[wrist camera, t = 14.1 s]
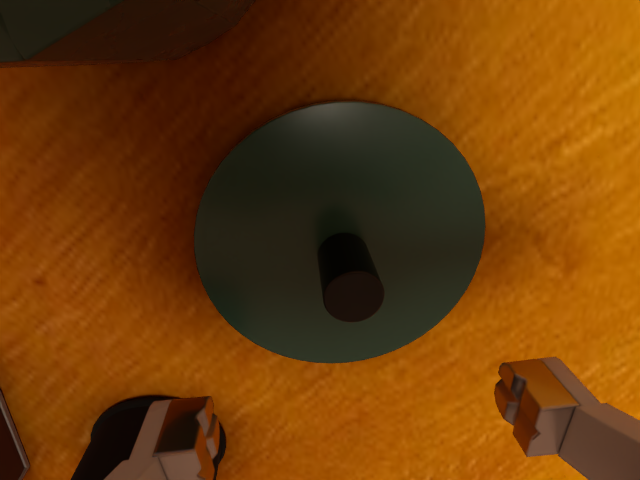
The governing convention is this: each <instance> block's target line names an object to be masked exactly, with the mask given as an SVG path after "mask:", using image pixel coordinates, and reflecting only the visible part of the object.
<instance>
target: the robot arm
mask: <svg viewBox="0 0 640 480" xmlns="http://www.w3.org/2000/svg"><path fill="white" fill-rule="evenodd" d="M498 373H499V375H500V377H501V378H502V379H501V380H500V381H499V382H498V383H497V384H496V385H495V392H494V395H495V401H496V404H497V407H498V409H499V412H500V413H501V415H502V417H503V418H504V419H505V420H506V421H507V422H509V423H510V424H512V425H513V426H514V428H513V435H514V437H515V438H516V440H517V442H518V443H519V445H520V446H521V448H522V450H523V451H524V453H525V455H526V456H527V457H530V456H541V455H551V454H559V455H558V456H559V457H561V458H562V459H563V460H564V461H566V462H567V463H568V464H570V465H571V466H572V467H573V468H575V469H576V470H577V471H578V472H580V473H581V474H582V475H583V476H585V477H586V478H587V479H589V480H640V421H639V420H637V419H635V418H634V417H632V416H630V415H628V414H626V413H624V412H622V411H620V410H618V409H616V408H615V407H613V406H611V405H609V404H607V403H603V404H601V403H600V402H599V401H598V400H597V399H596V398H595V397H594V396H593V395H592V393H591V392H590V391H589V390H588V389H587V388H586V387H585V386H584V385H583V384H582V383H581V382H580V380H579V379H578V378H577V377H576V376H575V375H574V374H573V373H572V372H571V371H570V370H569V368H568V367H567V366H566V365H565V364H564V363H563V362H562V361H561V360H560V359H558V358H557V357H549V358H540V359H530V360H522V361H514V362H506V363H502V364H501V365H500V367H499V371H498ZM213 408H214V403H213V400H212V397H211V396H205V397H194V398H182V399H173V400H162V401H154V402H153V403H152V404H151V406H150V407H149V409H148V412H147V414H146V417H145V419H144V422H143V425H142V427H141V430H140V432H139V435H138V437H137V440H136V443H135V445H134V448H133V450H132V453H131V455H130V458H129V460H125V461H122V462H121V463H120V464H119V465H118V466H117V467H116V468H115V469H114V470H113V471H112V472H111V473H110V474H109V475H108V476H107V477H106V478H105V479H104V480H213V478H214V472H215V469H214V465H213V462H212V460H213V458H214V457H215V456H216V455H217V453H218V448H219V436H220V429H219V422H218V418H217V416H216V415H215V414H213Z"/></svg>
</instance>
